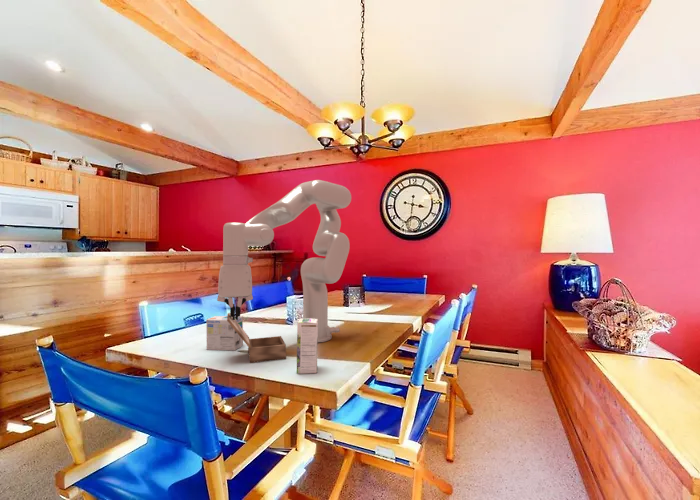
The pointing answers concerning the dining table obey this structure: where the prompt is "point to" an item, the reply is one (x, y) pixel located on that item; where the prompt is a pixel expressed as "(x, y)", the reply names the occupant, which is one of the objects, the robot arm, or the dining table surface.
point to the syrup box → (307, 345)
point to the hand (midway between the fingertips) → (235, 319)
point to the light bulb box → (223, 334)
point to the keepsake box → (267, 349)
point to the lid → (238, 330)
